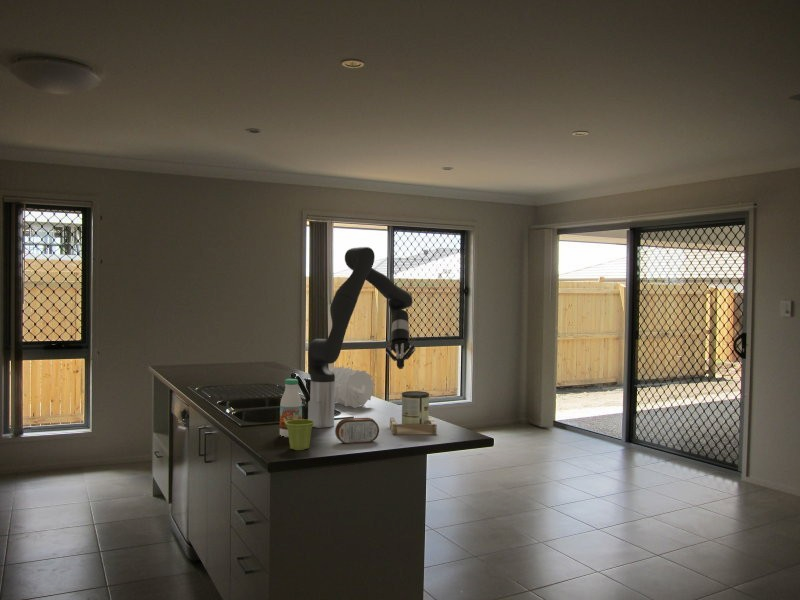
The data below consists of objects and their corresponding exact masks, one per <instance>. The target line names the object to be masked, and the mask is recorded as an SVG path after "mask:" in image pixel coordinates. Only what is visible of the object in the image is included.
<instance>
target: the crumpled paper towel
mask: <svg viewBox="0 0 800 600" xmlns="http://www.w3.org/2000/svg"><path fill="white" fill-rule="evenodd" d="M329 370H330V371H331V372H333V373H334V375H335V396H334V403H338V404H340V405H344V407H345V406H346V407H348V406H350V407H352V408H353V409H356V408H357V407H364V406H365V404H366V403H367V402H368V401H371V399H372V396H374V386H375V383H374V381H373V379H372V377H373V375H371V374H369V373H367V370H366V369H365V370H360V369H353V368H350V366H347V367H344V366H338V367H337V366H336V365H335V366H333V368H331V369H329Z"/></svg>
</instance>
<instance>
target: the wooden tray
mask: <svg viewBox="0 0 800 600" xmlns="http://www.w3.org/2000/svg"><path fill="white" fill-rule="evenodd" d="M389 428H390V431H391V433H392V435H437V423H436V422H435V420H434V419H433V417H429V424H402V423H397V421H396V419H395V417H389Z"/></svg>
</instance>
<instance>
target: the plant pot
mask: <svg viewBox="0 0 800 600" xmlns="http://www.w3.org/2000/svg"><path fill="white" fill-rule="evenodd" d="M285 424H286V425H287V429H288V435H289V437H288V442H289V449H290V450H295V451H303V450H306V449H307V450H308V449H309V448H310V445H311V444H310V442H311V435H312V428H314V427H313V424H314V421H312V420H308V419H304V418H302V419H297V420H289V421H286V422H285Z"/></svg>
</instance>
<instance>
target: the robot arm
mask: <svg viewBox="0 0 800 600" xmlns="http://www.w3.org/2000/svg"><path fill="white" fill-rule="evenodd" d="M375 256H376V255H375V252H374V250H373V249H372V248H371V247H370V246H360V247H359V246H358V247H352V248H349V249H347V250H346V252H345V255H344V262H345V265H346V266H347V267H348V268H349V269H350V270H351V271H352V272H351V274H350V276H349V277H348V278H346V279H345V281H344V282H343V283H342V284H341V285H340V286H339V287H338V288H337V290H336V291H335V294H334V296H333V298H332V301H331V302H330V303H331V304H330V306H329V307H330V308H329V312H330V317H331V329H330V333H329V334H328V337H327V338H326V339H325V338H315V339H313V340H312V341H310V343H309V345H308V346H309V347H308V351H307V352H308V353H307V355H308V357H307V358H308V374H309V376H310V388H309V389H310V390H309V391H310V399H309V400H308V402H307V404H308V405H307V420H312V421H314V424H313V427H312V428H317V429H321V428H331V427H335V402H334V396H335V375H334V373H333V372H331V371H330V370H331V369H329V367H328V366H327V364H328V365H329V364H334V363H336V361H337V360H338V359H339V356H340V353H341V350H342V347H343V343H344V340H345V335H346V332H347V329H348V327H349V324H350V320H351V319H352V315H353V313H354V311H355V307H356V306H357V302H358V299H359V296H360V294H361V292H362V289H363V287H364V285H365V283H366V281H367V282H368V283H369V284H371V286H373V287H374V288H375V289H376V290H377V291H378V292H379V293H380V295H382V296H383V297H384V298H385V299H387V300H388V303H387V304H388V306H389V309H390V314H391V319H392V320H391V321H392V322H391V323H392V324H391V344H390V347H388V348H386V349H385V353H386V354H387V355H388V356H389V358H391V359H392V360H393V361H394V362H396V366H397V369H399V370H401V369H403V368H404V367H405V360H409V359H410V358H411V356H412V355H413V354H414V352H415V351H416V347H415V345H412V344H411V343H410V325H409V323H410V322H409V313H408V311H406V310H405V309H408V308H410V307H411V306H412V304H413V297H412V296H411V294H410V293H409V292H408V291H407V290H406V289H403V288H401V287H399V286H397V285H396V284H395V283H394V281H392V280H391V279H390V277H388V276H386V274H383V273H382V272H380V271H379V270H376V269H375V268H373V266H374V263H375ZM393 353H394V354H395V355H394V354H393Z"/></svg>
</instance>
